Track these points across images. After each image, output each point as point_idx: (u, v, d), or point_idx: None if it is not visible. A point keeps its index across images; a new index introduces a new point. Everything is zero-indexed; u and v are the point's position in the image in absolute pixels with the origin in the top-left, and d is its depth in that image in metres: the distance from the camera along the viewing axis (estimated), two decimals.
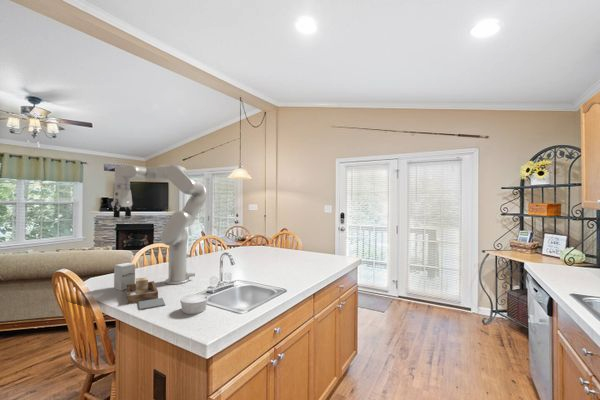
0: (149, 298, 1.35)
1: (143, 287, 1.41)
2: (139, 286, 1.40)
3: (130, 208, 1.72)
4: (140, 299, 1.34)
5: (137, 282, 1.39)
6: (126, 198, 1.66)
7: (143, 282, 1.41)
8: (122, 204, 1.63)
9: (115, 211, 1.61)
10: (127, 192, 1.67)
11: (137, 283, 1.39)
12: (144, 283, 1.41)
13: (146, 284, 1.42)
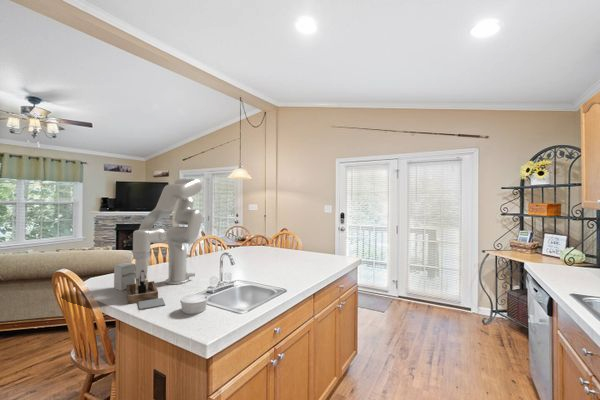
0: (149, 298, 1.35)
1: None
2: None
3: (139, 284, 1.39)
4: (140, 299, 1.34)
5: (137, 282, 1.39)
6: None
7: None
8: None
9: None
10: (135, 261, 1.41)
11: (137, 283, 1.39)
12: None
13: (146, 284, 1.41)
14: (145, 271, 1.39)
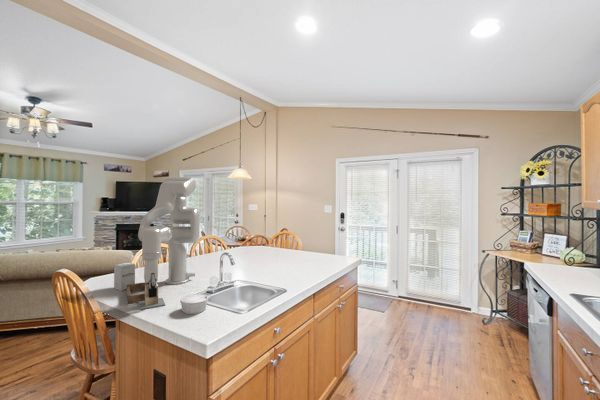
0: None
1: None
2: None
3: None
4: (140, 299, 1.34)
5: (146, 289, 1.27)
6: (144, 270, 1.30)
7: None
8: None
9: None
10: None
11: (146, 290, 1.27)
12: None
13: None
14: (156, 274, 1.27)
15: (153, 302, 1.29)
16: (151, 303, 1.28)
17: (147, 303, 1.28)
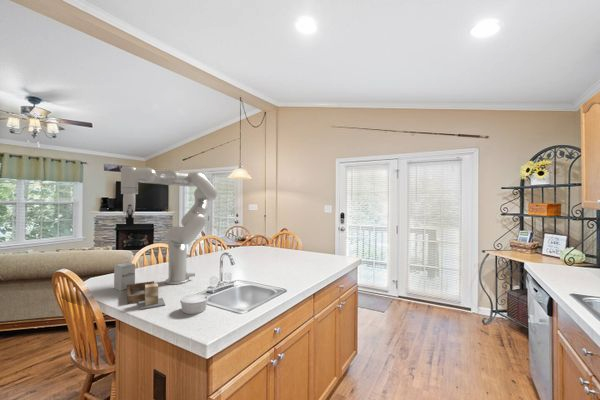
0: None
1: (153, 294, 1.29)
2: (149, 293, 1.28)
3: (126, 216, 1.41)
4: (140, 299, 1.34)
5: (146, 289, 1.27)
6: None
7: (153, 289, 1.29)
8: None
9: None
10: (123, 197, 1.45)
11: (146, 290, 1.27)
12: (154, 290, 1.29)
13: (156, 291, 1.29)
14: (133, 205, 1.43)
15: (153, 302, 1.29)
16: (151, 303, 1.28)
17: (147, 303, 1.28)
